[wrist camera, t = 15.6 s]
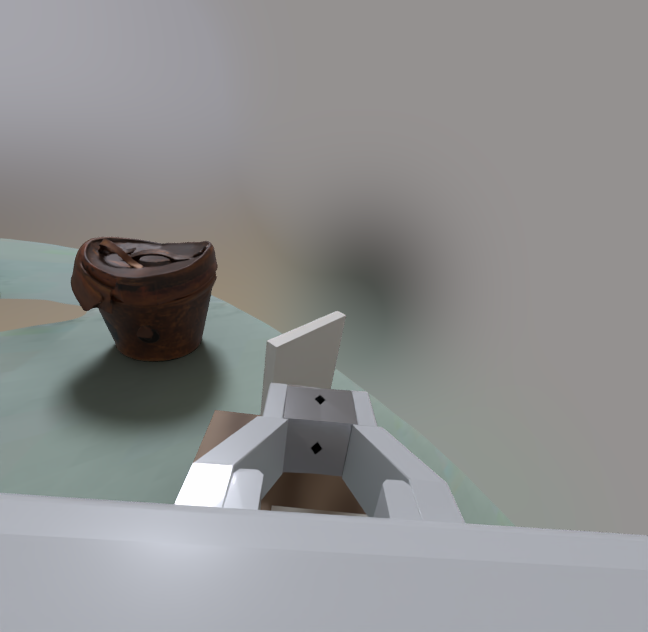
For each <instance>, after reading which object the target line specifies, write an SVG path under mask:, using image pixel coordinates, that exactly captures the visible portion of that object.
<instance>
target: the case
mask: <svg viewBox="0 0 648 632" xmlns="http://www.w3.org/2000/svg"><path fill="white" fill-rule="evenodd" d="M216 270H217V262H216V257H215V251H214V247H213V245H212V244H211V243H210V242H208V241H203V242H187V243H166V244H161V243H155V242H150V241H144V240H138V239H130V238H119V237H99V238H93V239H90V240H88V241H87V242H85V243H84V244H83V245H82V246H81V247H80V249H79V250H78V252H77V255H76V258H75V262H74V269H73V275H72V277H71V287H72V290H73V293H74V295H75V297H76V299H77V300H78V302H79V303H80V306H81V307H82V308H83V310H85V311H89V310H90V309H92V308H99V311H100V313H101V315H102V317H103V319H104V321H105V323H106V325H107V327H108V329H109V331H110V333H111V335H112V337H113V339H114V341H115V343H116V347H117V349H118V350H119V351H120V352H121V353H122V354H123V355H125V356H128V357H130V358H133V359H137V360H143V361H164V360H171V359H175V358H179V357H183V356H185V355H187V354H189V353H191V352H192V351H194V350H195V349H196V348H197V347H198V346H199V344H200V343H201V340H202V335H203V330H204V326H205V321H206V316H207V311H208V307H209V301H210V296H211V291H212V287H213V285H214V282H215V280H216Z"/></svg>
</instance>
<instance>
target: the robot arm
mask: <svg viewBox="0 0 648 632" xmlns="http://www.w3.org/2000/svg"><path fill="white" fill-rule="evenodd" d="M282 472H293V473H313V474H323V475H332V476H342V479H343V480H344V482H345V483H346V485H347V486H348V488H349V489H350V491H351V492H352V494H353V495H354V497H355V498H356V500H357V501H358V503H359V504H360V506H361V507H362V509H363V510H364V512H365V513H366V515H367V516H368V517H361V516H346V515H330V514H314V513H299V512H283V511H268V510H260V509H261V500H262V499H263V497H264V496H265V495H266V494H267V492H268V491H269V490H270V489H271V487H272V486H273V485H274V484H275V482H276V481H277V480H278V479H279V477H280V476H281V475H282ZM0 632H648V535H633V534H620V533H604V532H588V531H574V530H559V529H543V528H527V527H511V526H495V525H480V524H465V521H464V519H463V517H462V515H461V513H460V510H459V508H458V506H457V504H456V502H455V499H454V497H453V495H452V493H451V491H450V488H449V486H448V484H447V483H446V482H445V481H444V480H443V479H442V478H441V477H440V476H438V475H437V474H436V473H435V472H434V471H433V470H431V469H430V468H429V467H428V466H427V465H426V464H424V463H423V462H422V461H421V460H420V459H419V458H417V457H416V456H415V455H414V454H413V453H412V452H411V451H409V450H408V449H407V448H406V447H405V446H404V445H402V444H401V443H400V442H399V441H398V440H397V439H395V438H394V437H393V436H392V435H391V434H390V433H389V432H387V431H386V430H385V429H384V428H383V427H377V423H376V419H375V416H374V412H373V409H372V405H371V401H370V398H369V394H368V393H367V392H366V391H347V390H334V389H321V388H316V387H307V386H299V385H290V384H288V386H287V384H281V383H271V384H270V386H269V390H268V395H267V399H266V403H265V408H264V412H263V416H257V417H256V418H254V419H253V420H252V421H250V422H249V423H247V424H246V425H245V426H243V427H242V428H241V429H239V430H238V431H236V432H235V433H234V434H232V435H231V436H230V437H228V438H227V439H225V440H224V441H223V442H221V443H220V444H219V445H217V446H216V447H214V448H213V449H212V450H210V451H209V452H208V453H206V454H205V455H203V456H202V457H201V458H199V459H198V460H197V461H195V462H194V463H193V464H192V466H191V468H190V471H189V473H188V475H187V477H186V480H185V482H184V484H183V486H182V488H181V491H180V493H179V495H178V497H177V500H176V502H175V504H161V503H146V502H130V501H115V500H100V499H85V498H70V497H54V496H39V495H24V494H9V493H0Z"/></svg>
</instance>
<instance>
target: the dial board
mask: <svg viewBox="0 0 648 632" xmlns="http://www.w3.org/2000/svg"><path fill="white" fill-rule="evenodd" d="M257 416H260V415H253V414H244V413H236V412H227V411H218V410H215V412H214V414H213V417H212V419H211V421H210V424H209V426H208V428H207V431H206V433H205V436H204V438H203V440H202V443H201V445H200V447H199V450H198V452H197V454H196V457H195V459H194V461H193V463H194V462H195V461H197V460H198V459H199V458H201V457H202V456H203V455H205V454H206V453H208V452H209V451H210V450H212V449H213V448H214V447H216V446H217V445H219V444H220V443H221V442H223V441H224V440H225V439H227V438H228V437H230V436H231V435H232V434H234V433H235V432H236V431H238V430H239V429H241V428H242V427H243V426H245V425H246V424H247V423H249V422H250V421H252V420H253V419H254V418H256V417H257ZM260 510H268V511H283V512H299V513H314V514H330V515H346V516H361V517H368V516H367V515H366V513H365V512H364V510H363V509H362V507H361V506H360V504H359V503H358V501H357V500H356V498H355V497H354V495H353V494H352V492H351V491H350V489H349V488H348V486H347V485H346V483H345V482H344V480H343V479H342V476H332V475H323V474H313V473H293V472H282V475H281V476H280V477H279V479H278V480H277V481H276V482H275V484H274V485H273V486H272V487H271V489H270V490H269V491H268V492H267V494H266V495H265V496H264V497H263V499H262V500H261V509H260Z"/></svg>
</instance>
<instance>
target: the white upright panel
mask: <svg viewBox="0 0 648 632" xmlns="http://www.w3.org/2000/svg"><path fill="white" fill-rule="evenodd" d="M345 318H346V315H345V314H343V313H341V312H339V311H336V312H333V313H331V314H329V315H326V316H324V317H321V318H319V319H317V320H314V321H312V322H310V323H308V324H305V325H303V326H300V327H298V328H296V329H293V330H291V331H289V332H287V333H284V334H282V335H279V336H277V337H275V338H272V339H270V340H268V341H267V345H266V357H265V369H264V380H263V392H262V404H261V415H260V416H263V412H264V408H265V403H266V399H267V395H268V390H269V386H270V384H271V383H281V384H287V386H288V384H290V385H299V386H307V387H316V388H321V389H331V384H332V380H333V375H334V370H335V365H336V360H337V356H338V351H339V346H340V341H341V337H342V332H343V327H344V323H345Z"/></svg>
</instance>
